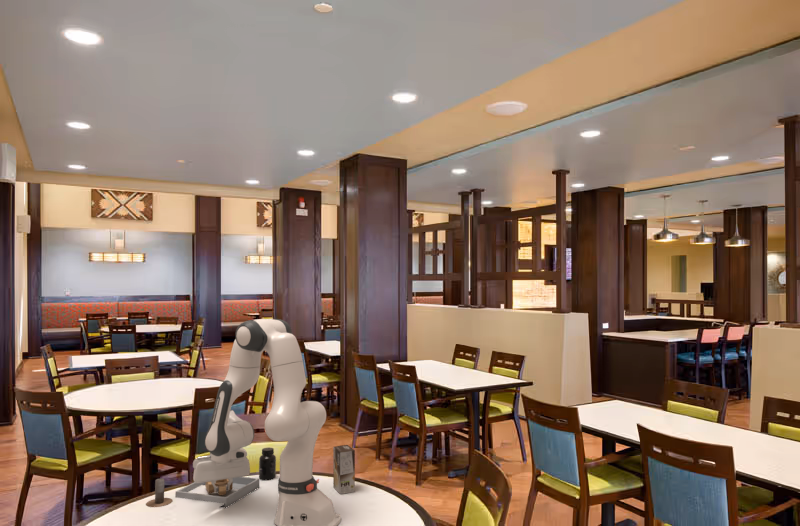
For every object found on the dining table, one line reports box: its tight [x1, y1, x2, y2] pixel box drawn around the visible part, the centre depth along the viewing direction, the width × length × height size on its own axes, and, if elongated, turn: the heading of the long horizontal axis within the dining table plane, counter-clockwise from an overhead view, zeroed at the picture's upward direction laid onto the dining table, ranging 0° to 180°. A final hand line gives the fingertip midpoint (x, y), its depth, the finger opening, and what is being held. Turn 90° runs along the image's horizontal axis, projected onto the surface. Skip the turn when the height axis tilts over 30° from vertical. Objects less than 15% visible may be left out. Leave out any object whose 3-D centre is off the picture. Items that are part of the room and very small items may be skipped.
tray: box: [175, 476, 260, 509], centre depth 211 cm, size 22×22×4 cm
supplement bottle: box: [258, 447, 277, 481], centre depth 230 cm, size 7×7×12 cm
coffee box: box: [332, 444, 356, 495], centre depth 217 cm, size 9×6×16 cm
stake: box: [145, 478, 174, 508], centre depth 199 cm, size 9×9×10 cm
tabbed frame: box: [204, 479, 233, 496], centre depth 210 cm, size 13×9×3 cm
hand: (221, 491), depth 206 cm, fingers closed on tabbed frame, 2 cm apart
